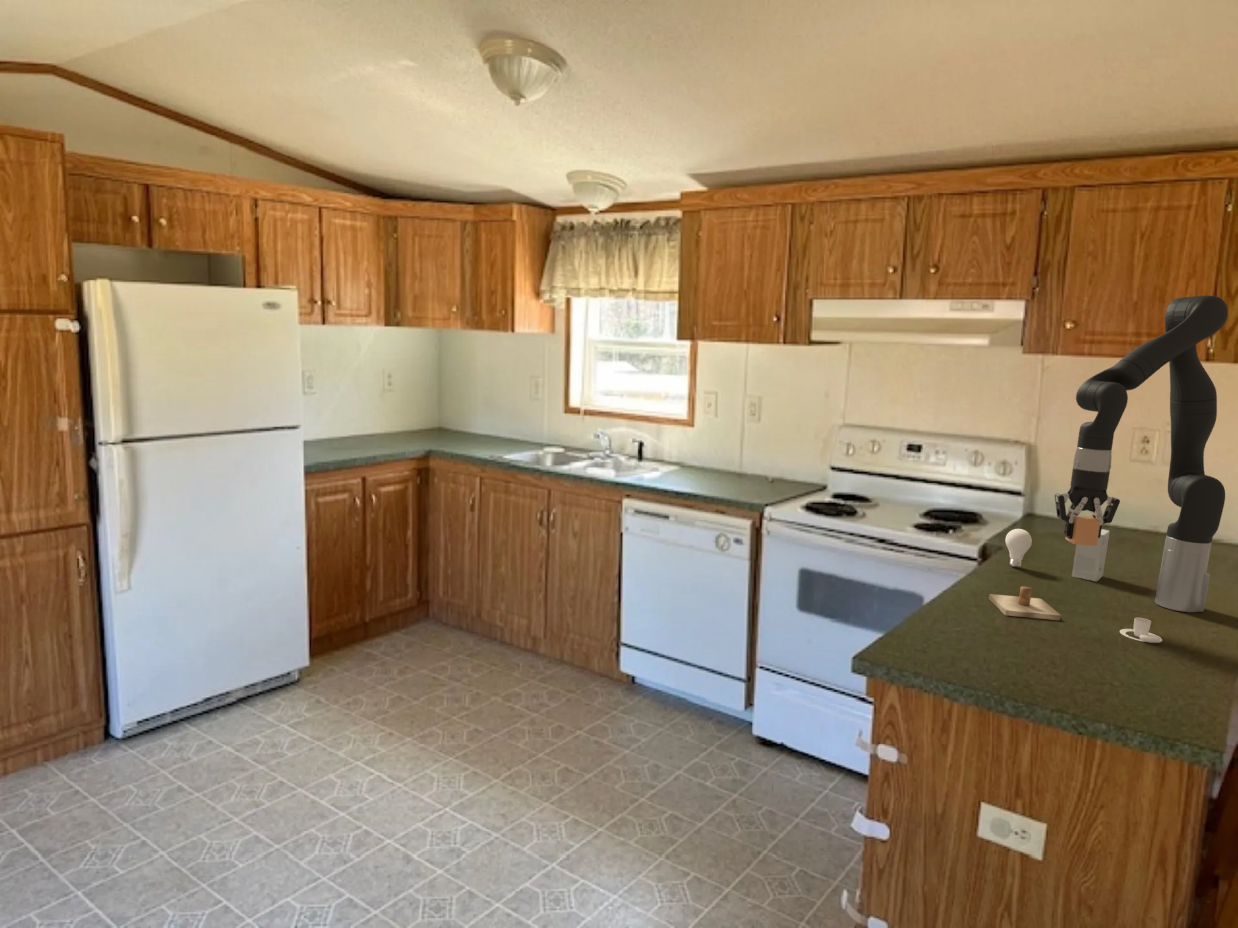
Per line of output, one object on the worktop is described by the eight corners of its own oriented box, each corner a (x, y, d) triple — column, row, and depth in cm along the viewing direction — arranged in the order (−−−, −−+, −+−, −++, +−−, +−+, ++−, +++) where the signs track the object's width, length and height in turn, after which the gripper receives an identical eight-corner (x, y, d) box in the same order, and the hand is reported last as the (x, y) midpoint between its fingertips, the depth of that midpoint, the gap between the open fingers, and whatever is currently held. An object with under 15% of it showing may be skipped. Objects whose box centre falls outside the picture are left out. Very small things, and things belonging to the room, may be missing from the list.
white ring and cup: (1162, 648, 177) (1165, 630, 176) (1118, 639, 181) (1121, 621, 180) (1161, 637, 184) (1164, 619, 184) (1119, 628, 188) (1122, 611, 188)
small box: (1077, 571, 234) (1084, 525, 232) (1103, 576, 230) (1110, 530, 228) (1070, 576, 228) (1078, 530, 225) (1097, 582, 224) (1104, 534, 221)
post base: (1040, 603, 202) (1043, 582, 201) (1060, 620, 190) (1063, 598, 189) (988, 598, 203) (991, 578, 202) (1005, 615, 191) (1008, 593, 190)
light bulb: (1030, 571, 230) (1036, 533, 228) (1005, 569, 231) (1010, 530, 229) (1024, 565, 236) (1029, 527, 234) (999, 562, 237) (1004, 525, 236)
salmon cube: (1087, 540, 199) (1091, 515, 198) (1096, 545, 194) (1100, 520, 193) (1065, 538, 199) (1068, 514, 198) (1074, 544, 194) (1077, 519, 193)
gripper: (1116, 467, 196) (1106, 537, 199) (1052, 463, 198) (1043, 532, 201) (1132, 472, 189) (1121, 545, 192) (1065, 468, 191) (1055, 540, 193)
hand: (1081, 538), depth 196 cm, fingers closed on salmon cube, 5 cm apart
